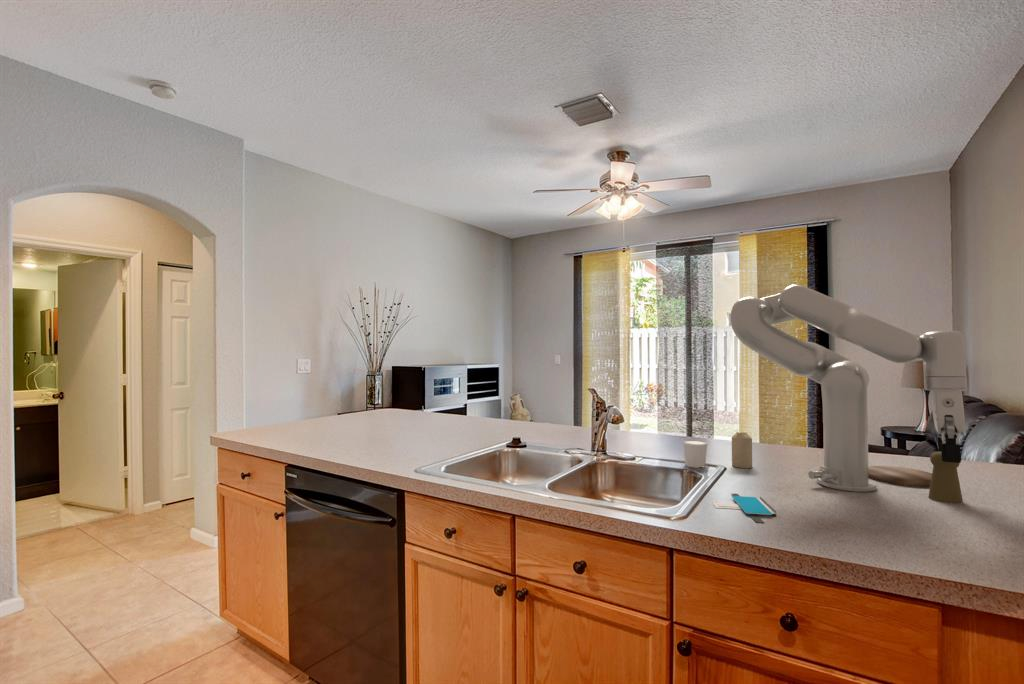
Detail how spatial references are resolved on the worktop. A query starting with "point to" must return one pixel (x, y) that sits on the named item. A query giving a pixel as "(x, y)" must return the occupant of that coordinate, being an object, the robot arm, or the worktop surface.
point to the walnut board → (900, 476)
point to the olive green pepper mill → (944, 481)
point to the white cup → (695, 453)
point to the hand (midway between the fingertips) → (949, 458)
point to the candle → (741, 450)
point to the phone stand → (749, 506)
